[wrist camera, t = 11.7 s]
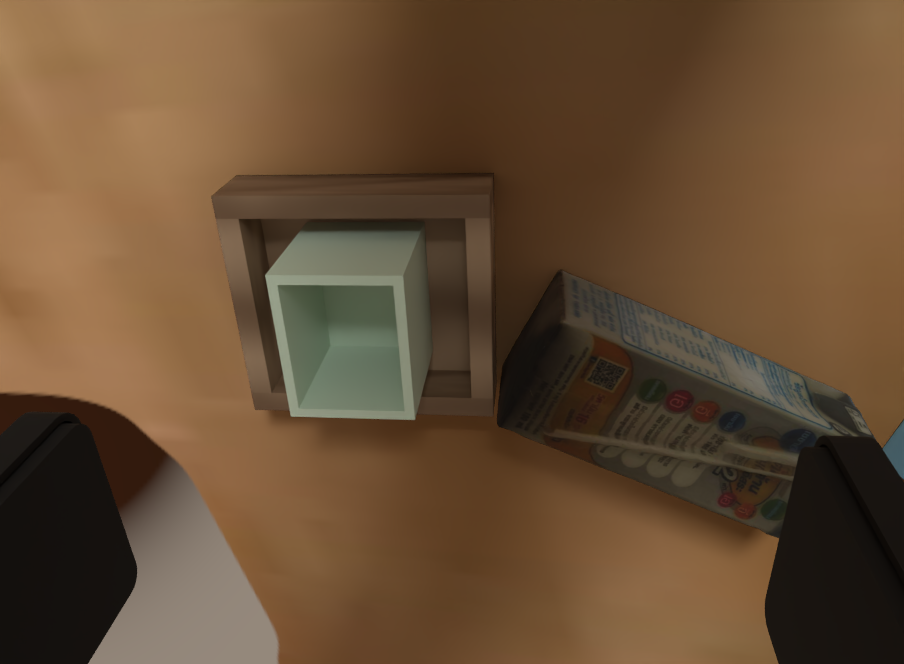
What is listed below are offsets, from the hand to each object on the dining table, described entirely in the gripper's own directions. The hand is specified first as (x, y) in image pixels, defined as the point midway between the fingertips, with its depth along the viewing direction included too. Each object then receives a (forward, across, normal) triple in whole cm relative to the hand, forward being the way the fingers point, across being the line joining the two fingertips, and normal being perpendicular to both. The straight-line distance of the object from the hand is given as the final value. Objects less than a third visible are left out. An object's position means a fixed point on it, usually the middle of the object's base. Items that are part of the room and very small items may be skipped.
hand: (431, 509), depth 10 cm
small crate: (+30, +8, +11) cm, 33 cm away
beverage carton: (+31, -9, +17) cm, 36 cm away
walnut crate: (+30, +8, +11) cm, 33 cm away
